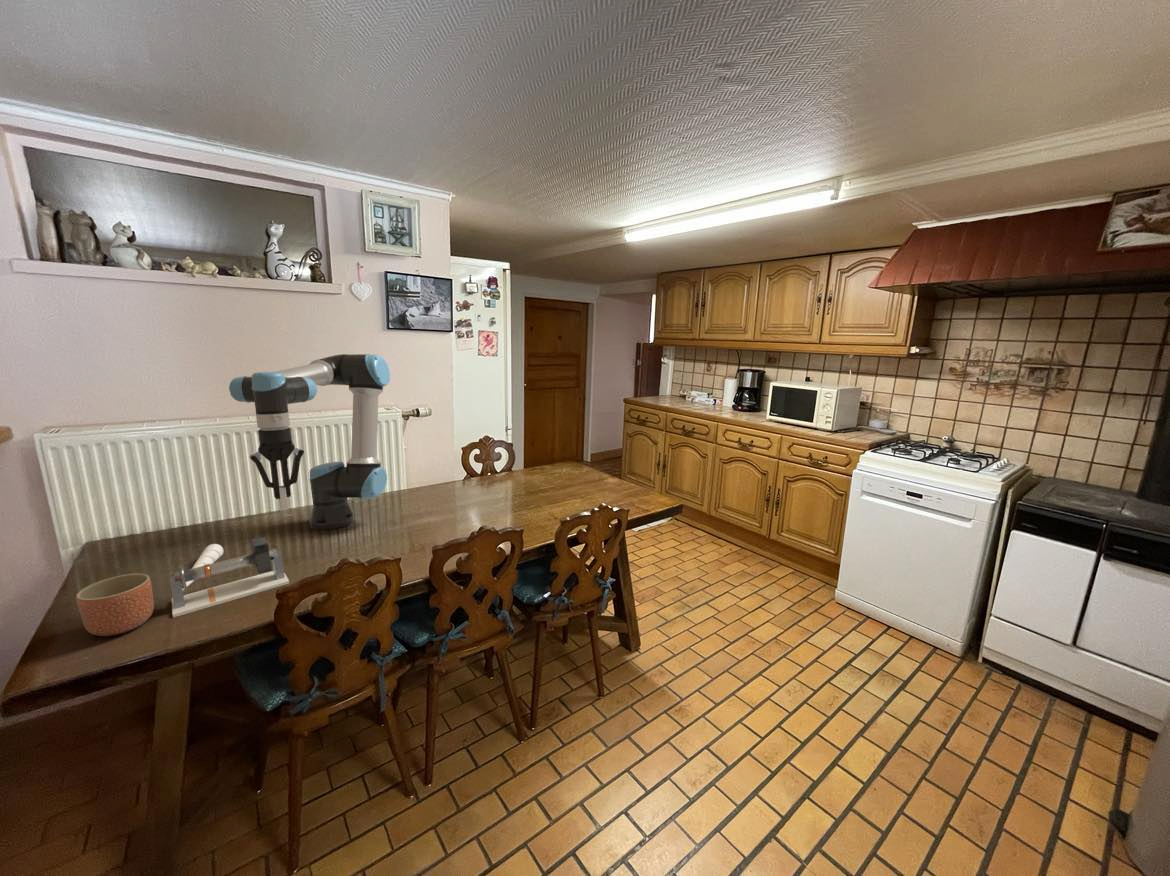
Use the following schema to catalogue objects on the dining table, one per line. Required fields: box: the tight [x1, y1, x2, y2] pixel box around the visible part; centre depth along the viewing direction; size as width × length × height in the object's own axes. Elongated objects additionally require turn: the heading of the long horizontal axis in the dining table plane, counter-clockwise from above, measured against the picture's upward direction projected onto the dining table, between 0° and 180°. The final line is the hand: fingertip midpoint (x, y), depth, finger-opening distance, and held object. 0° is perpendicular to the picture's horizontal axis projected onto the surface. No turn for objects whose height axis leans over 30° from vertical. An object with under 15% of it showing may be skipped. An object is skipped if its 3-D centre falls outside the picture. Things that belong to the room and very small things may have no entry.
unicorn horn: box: [183, 543, 224, 591], centre depth 136 cm, size 5×24×5 cm, turn 15°
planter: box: [75, 572, 155, 637], centre depth 109 cm, size 12×12×11 cm
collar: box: [250, 535, 273, 575], centre depth 129 cm, size 7×3×8 cm, turn 43°
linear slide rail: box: [169, 547, 285, 609], centre depth 125 cm, size 6×24×11 cm, turn 133°
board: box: [171, 570, 290, 618], centre depth 126 cm, size 10×25×1 cm, turn 133°
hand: (284, 508), depth 131 cm, fingers closed
